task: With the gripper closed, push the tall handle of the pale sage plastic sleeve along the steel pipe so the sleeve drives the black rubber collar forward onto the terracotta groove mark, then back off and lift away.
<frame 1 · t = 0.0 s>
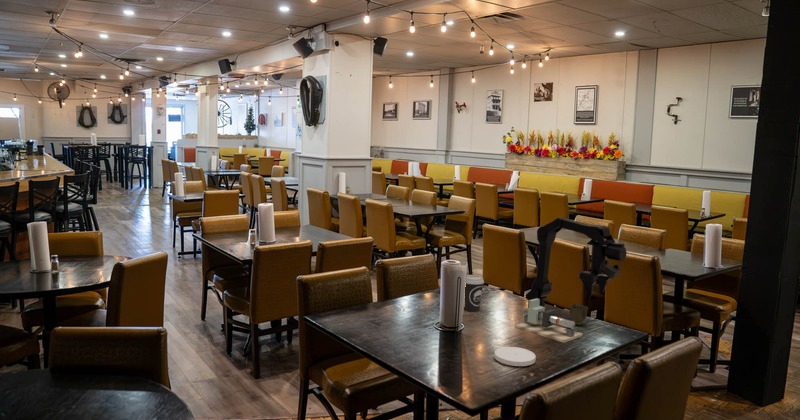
hand: (595, 294, 234), 15 cm above the table, tool pointing down, fingers open, 9 cm apart
base board: (547, 331, 231), on the table
steel pipe: (548, 321, 230), on the base board, point 4 cm above the table
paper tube: (450, 326, 234), on the table
coffee cup: (472, 310, 258), on the table
plastic lid: (514, 361, 199), on the table
rubber collar: (548, 318, 230), point 5 cm above the table, slide at 0.0 cm
sleeve: (536, 311, 234), point 7 cm above the table, slide at -6.0 cm
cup: (577, 325, 241), on the table
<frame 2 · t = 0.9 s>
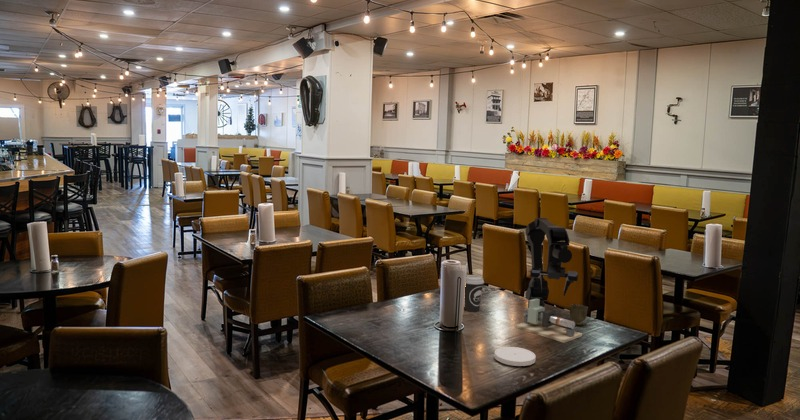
hand: (552, 294, 237), 13 cm above the table, tool pointing down, fingers open, 9 cm apart
nothing on the table moved.
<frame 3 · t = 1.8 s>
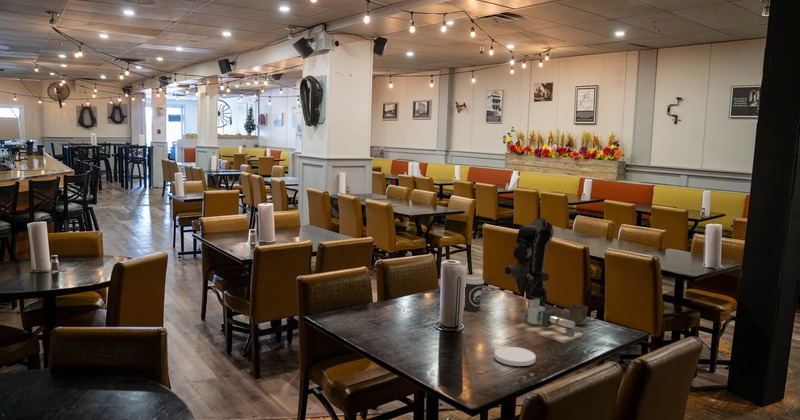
hand: (525, 293, 238), 13 cm above the table, tool pointing down, fingers open, 4 cm apart
nothing on the table moved.
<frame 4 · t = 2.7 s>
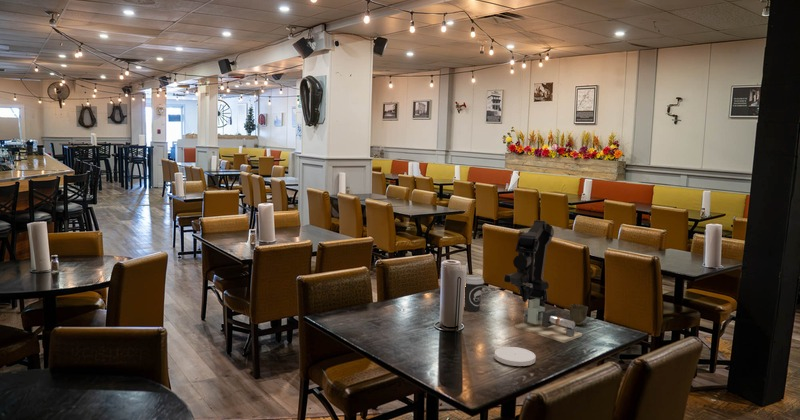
hand: (524, 301, 239), 10 cm above the table, tool pointing down, fingers closed
nothing on the table moved.
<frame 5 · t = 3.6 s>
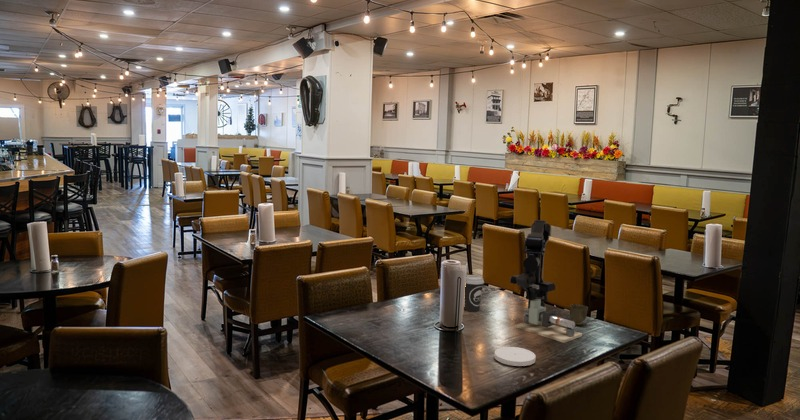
hand: (531, 303, 236), 10 cm above the table, tool pointing down, fingers closed
sleeve: (537, 311, 234), point 7 cm above the table, slide at -5.4 cm, touching gripper
everything else where it was.
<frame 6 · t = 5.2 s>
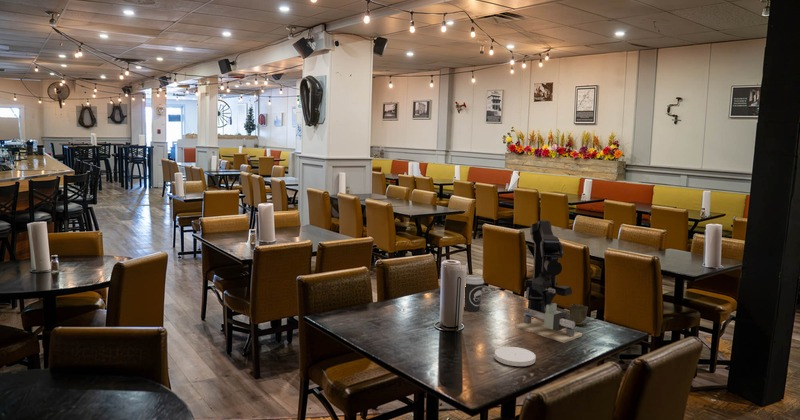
hand: (546, 307, 231), 10 cm above the table, tool pointing down, fingers closed
rubber collar: (559, 321, 226), point 5 cm above the table, slide at 5.1 cm, touching sleeve
sleeve: (553, 315, 228), point 7 cm above the table, slide at 2.1 cm, touching gripper, rubber collar
everything else where it was.
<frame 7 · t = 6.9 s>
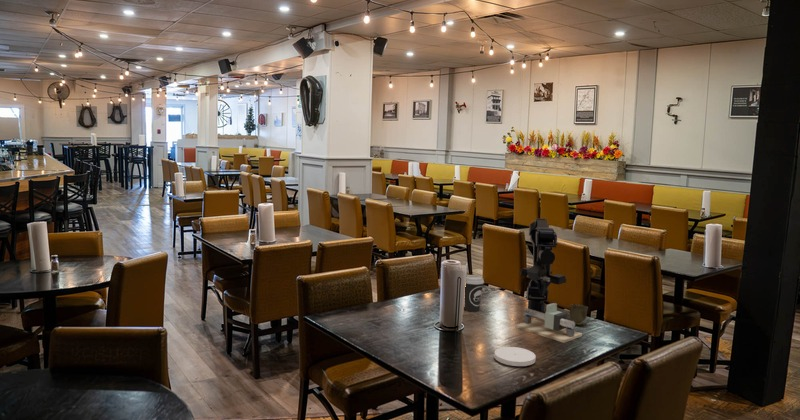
hand: (541, 295, 237), 13 cm above the table, tool pointing down, fingers closed
sleeve: (553, 316, 228), point 7 cm above the table, slide at 2.2 cm, touching rubber collar
everything else where it was.
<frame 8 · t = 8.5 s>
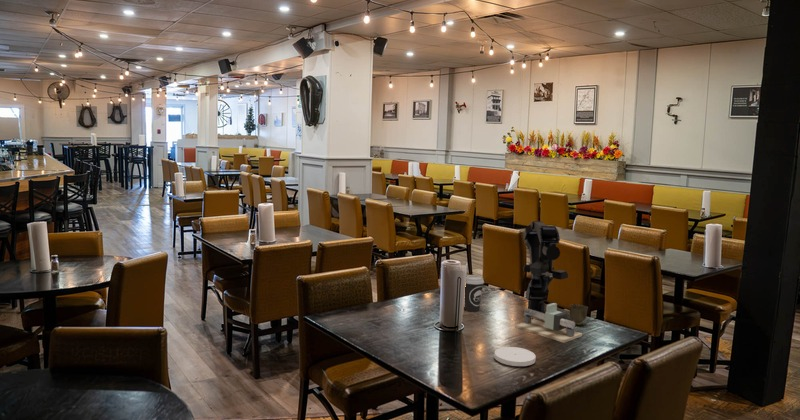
hand: (544, 291, 243), 13 cm above the table, tool pointing down, fingers closed
nothing on the table moved.
at the end: rubber collar slide at 5.2 cm; sleeve slide at 2.2 cm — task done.
